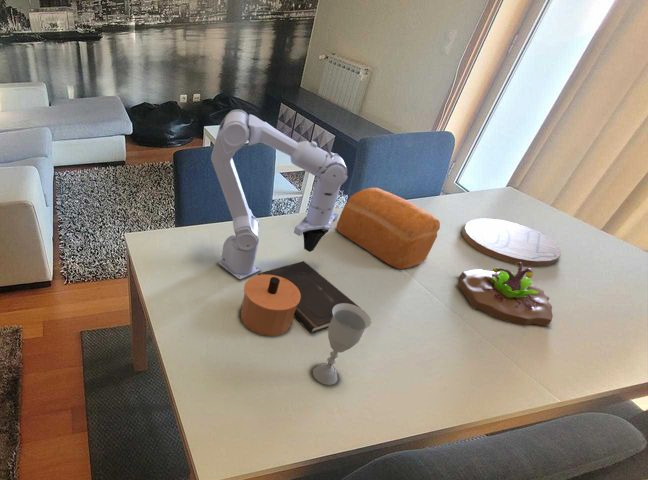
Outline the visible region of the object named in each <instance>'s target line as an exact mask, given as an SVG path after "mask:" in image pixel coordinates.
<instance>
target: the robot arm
mask: <svg viewBox="0 0 648 480" xmlns="http://www.w3.org/2000/svg"><path fill="white" fill-rule="evenodd" d="M247 142H248V143H247ZM246 143H247V144H248V146H253V145H257V144H260V143H263V144H264V145H266V146H269V147H270V148H273V149H274V150H276V151H279V152H281V153H283V154H285V155H286V156H289V157H290V161H291V164H292V165H294V166H296V167H298V168H299V169H301V170H303V171H305V172H307V173H309V174H311V175H313V176H315V177H317V180H316V183H315V185H314V187H313V188H314V189H313V192H312V195H311V198H310V202H309V206H308V209H307V213H306V216H305V217H304V218H303V219H302V220H301V221H300V222H299V224H297V225H295V226H294V229H293V234H295V235H297V236H298V237H301V236H303V249H304V250H305V251H307V252H309V253H310V252H312V251H314V250H315V248H316V247H317V245H318V243H319V242H320V241H321V239H323V237H324V236H325V235H326V234H327V233H328V232H329V230H330V229H332V227H333V225H332V223H333V222H336V221H337V220H338V218H339V213H336V212H335V211H334V208H335V206H336V202H337V199H338V196H339V193H340V189H341V186H342V185H343V184H344V183H345V182H346V181H347V180H348V178H349V176H348V168H347V166H346V163H345V161H344V159H343V158H342V157H341V156H340V155H339V154H338V153H334V152H332V151H330V152H328V151H326V150H324V149H323V148H320V147H319V146H318V143H317V142H316V141H314V140H311V142H310V141H307V140H303V141H299V142H298V141H296V140H294V139H293V138H291V137H289V136H288V135H287V134H285V133H283V132H281V131H279V130H278V129H277V128H274V127H273V126H272V125H270V124H268V123H266V122H265V121H263V120H262V119H260V118H259V117H257V116H256V115H254V114H251V113H249V114H248V113H247V112H246V111H244V110H242V109H233V110H231V111H230V112H228V113H227V114H226V115H225V117H224V118H223V120H222V121H221V123H220V125H219V128H218V131H217V133H216V137H215V142H214V144H213V148H212V150H211V151H212V152H211V156H210V160H211V163H212V166H213V169H214V172H215V174H216V177H217V180H218V182H219V185H220V188H221V192H222V194H223V196H224V199H225V202H226V205H227V208H228V210H229V213H230V216H231V219H232V226H233V231H234V234H232V235H230V236H228V237H226V239H225V241H224V242H223V244H222V245H223V246H222V250H221V257H220V258H221V259H220V261H218V265H220V266H221V267H222V268H223V269H225V270H226V271H228V273H230V274H231V275H233V276H234V277H235V278H237V279H238V280H242V279H245V278H247V277H249V276H251V275H254V274H256V273H259V272H260V271H261V270H260V268H259V267H257V266H256V265H255V261H256V257H257V252H258V248H259V242H260V239H259V227H260V221H259V220H258V218H257V217H256V216H254V214H253V212H252V210H251V209H250V208H249V205H248V202H247V199H246V195H245V192H244V190H243V186H242V183H241V180H240V177H239V174H238V171H237V168H236V165H235V162H234V155H235V154H236V152H237V151H238V150H240V149H241V148H243V146H245V144H246Z"/></svg>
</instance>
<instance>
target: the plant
mask: <svg viewBox="0 0 648 480" xmlns="http://www.w3.org/2000/svg"><path fill="white" fill-rule="evenodd" d="M515 267H516V268H518V269H517V273H514V272H512V271H510V270H509V269H507V268H503V267H494V268H492V270H483V269H469V270H467V271H462V272H461V273H460V275H459V277H458V279H459V280H460V282H459V284H458V288H459V290H460V291H461V293H462V294H463V295H464V296H465V298H466V299H467V300H468V302H469V305H471V307H472V308H474V309H475V310H478V311H480V312H483V313H486V314H488V315H489V316H491V317H493V318H495V319H499V320H500V321H501V320H502V321H504V322H505V321H506V322H509V323H513V324H518V325H522V326H524V325H529V324H531V325H538V326H542V327H548V325H550V323H551V322H552V320H553V310H552V309H553V306H552V304H551V303H550V302H549V300H550V297H549V296H547V295H546V294H545V291H544V290H543V289H542V288H540V287H538V286H536V285H534V284H533V282H532V279H531V278H533V277H534V271H533V270H532V268H528V267H527V268H525V269H524V270H523V267H524V265H522V263H521V262H518V263H517V264H515ZM524 276H525V277H524Z"/></svg>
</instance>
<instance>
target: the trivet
mask: <svg viewBox="0 0 648 480" xmlns="http://www.w3.org/2000/svg"><path fill="white" fill-rule="evenodd" d="M461 234H462V237H463V239H464V240H465V241H466V242H467V243H468V244H469V245H471V246H472V247H473V248H474V249H475V250H478V251H480V252H481V253H483V254H485V255H487V256H490V257H492V258H494V259H497V260H499V261H504V262H507V263H509V264H515V265H516V264H517V263H518V262H521V263H522V266H524V267H525V266H526V267H545V266H546V267H547V266H550V265H553V264H554V263H555V262H556V261H557V260H558V259H559V258H560V256H561V255H562V249H561V247H560V246H559V245H558V244H557V242H555V241H554V240H553V239H552V238H550V237H549V236H547V235H546V234H544V233H542V232H540V231H538V230H535V229H533V228H532V227H528V226H526V225H523V224H519V223H516V222H512V221H509V220H504V219H496V218H476V219H471V220H470V221H467V222H466V224H465V225H464V227H463V229H462V230H461Z"/></svg>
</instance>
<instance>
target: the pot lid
mask: <svg viewBox="0 0 648 480" xmlns="http://www.w3.org/2000/svg"><path fill="white" fill-rule="evenodd" d="M243 293H245V295H246V297H247V298H248V299H249V300H250V301H251V302H252V303H253V304H255V305H256V306H258V307H260V308H263V309H266V310H270V311H287V310H290V309H293V308H294V307H296V306H297V305H298V304H299V302H300V299H301V294H300V291H299V289H298V288H297V287H296V286H295V285H294V284H293V283H292V282H290V281H289V280H287V279H285V278H282V277H279V276H275V275H258V274H257V275H254V276H252V277H250V278H249V279H247V281H245V284H244V287H243Z"/></svg>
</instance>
